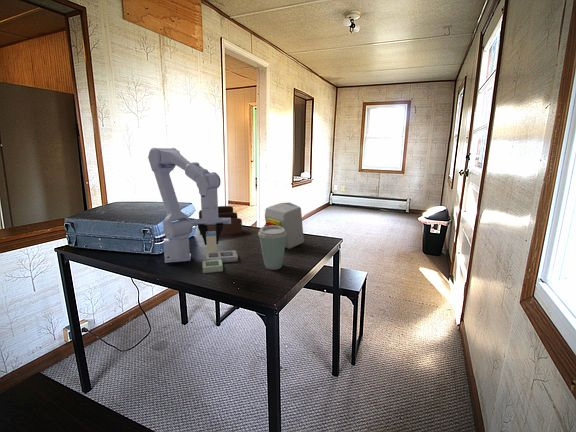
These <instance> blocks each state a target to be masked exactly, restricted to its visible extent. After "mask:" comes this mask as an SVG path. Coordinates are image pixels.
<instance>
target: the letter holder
mask: <svg viewBox="0 0 576 432" xmlns="http://www.w3.org/2000/svg"><path fill="white" fill-rule="evenodd" d="M201 218H202V210H201V209H200V210H199V212H198V219H201ZM218 218H231V224H223V229H222V231H221V233H220V236H219V238H220V237H225V236H231V235H237V234H242V233H243V220H242V218H240V217H238V212H234V208H233V206H232V205H221V206H219V205H218ZM205 231H206V232H207V231H216V224H213V225H205ZM199 236H201V233H200V232H199Z"/></svg>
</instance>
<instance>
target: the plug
mask: <svg viewBox="0 0 576 432" xmlns="http://www.w3.org/2000/svg"><path fill="white" fill-rule="evenodd" d="M206 242H207V245H206V253H215V252H218V251H217V249H218V247H217V245H218V244H216V231H207V232H206Z"/></svg>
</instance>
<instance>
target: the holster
mask: <svg viewBox="0 0 576 432" xmlns="http://www.w3.org/2000/svg"><path fill="white" fill-rule="evenodd" d="M201 261H202V273H203V274H205V273H206V274H207V273H217V272H218V273H219V272H223V271H224V266H223V263H222V260H221V259H219V260H208V261H206V260H201Z"/></svg>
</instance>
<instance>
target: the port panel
mask: <svg viewBox="0 0 576 432" xmlns="http://www.w3.org/2000/svg"><path fill="white" fill-rule="evenodd" d="M205 259H206V260H205V261H208V260H219V259H221V260H222V264H223V263H224V264H225V263H233V262H235V263H236V262H239V256H238V253H237V250H236V249H235V250H234V249H233V250H223V251H222V250H221V251H217V252H215V253H207V252H205Z"/></svg>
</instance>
